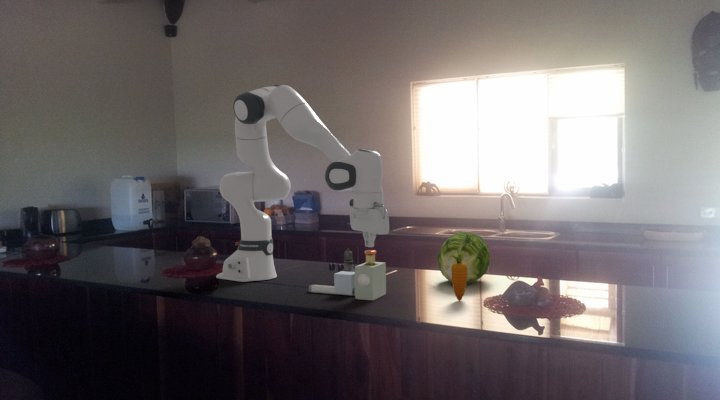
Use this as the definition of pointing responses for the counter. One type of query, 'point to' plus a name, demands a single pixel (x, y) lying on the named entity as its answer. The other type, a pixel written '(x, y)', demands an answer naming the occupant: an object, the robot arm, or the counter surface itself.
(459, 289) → the carrot
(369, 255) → the copper knob
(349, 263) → the stone chess piece
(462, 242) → the lettuce
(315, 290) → the rail
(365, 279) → the block with square hole
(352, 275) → the block
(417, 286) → the counter surface
